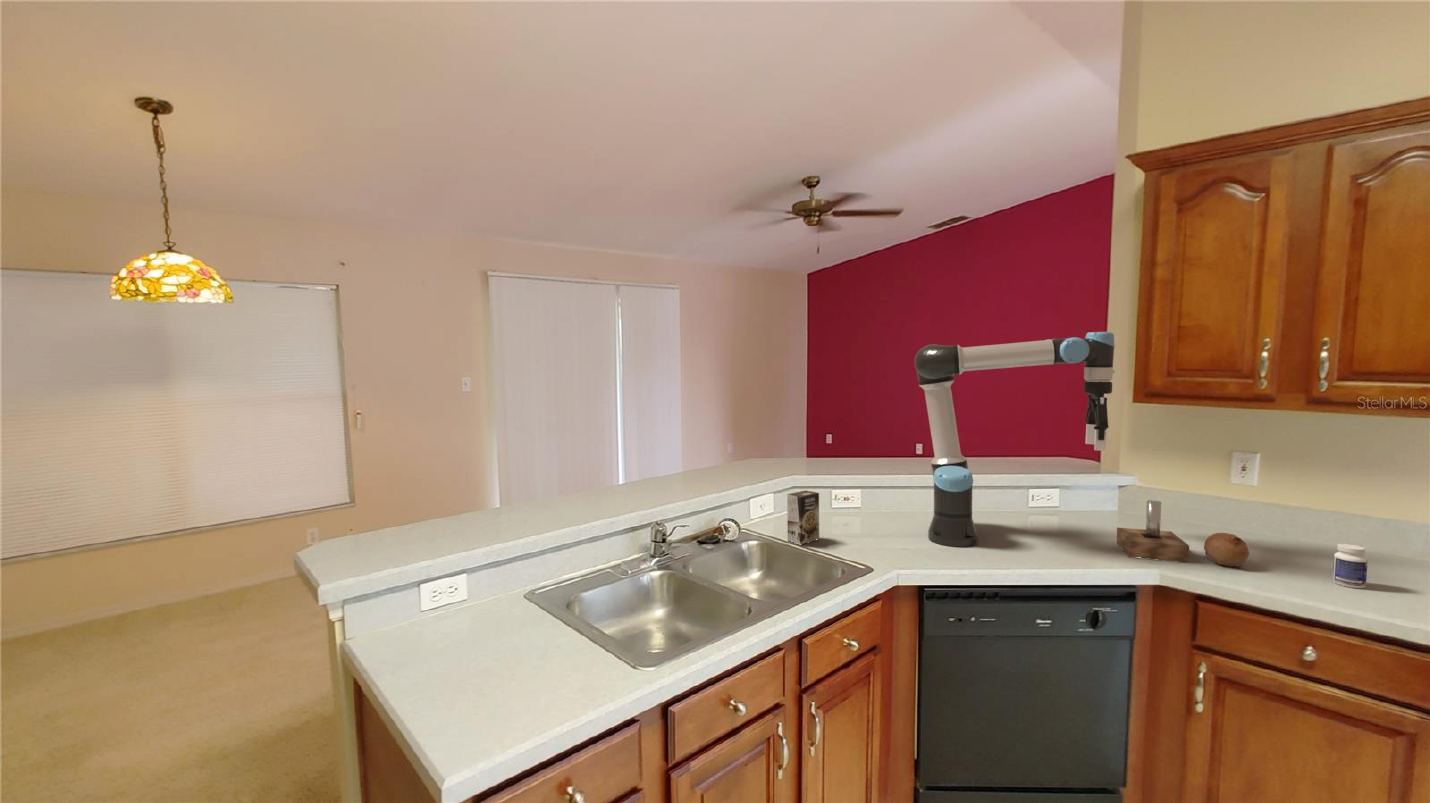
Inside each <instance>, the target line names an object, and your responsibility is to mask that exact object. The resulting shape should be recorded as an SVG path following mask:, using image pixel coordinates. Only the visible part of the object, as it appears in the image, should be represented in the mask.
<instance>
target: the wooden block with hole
mask: <svg viewBox="0 0 1430 803" xmlns="http://www.w3.org/2000/svg"><path fill="white" fill-rule="evenodd" d="M1116 544H1117V545H1118V546H1119V547H1120V548H1122V549H1123V550H1124V551H1123V550H1122V551H1123V552H1124V553H1125V554H1126V556H1128V558H1130V557H1141V558H1150V559H1149V560H1151V559H1158V560H1157V561H1162V560H1166V561H1165V562H1173V561H1178V562H1177V563H1184V562H1187V564H1188V563H1189V561H1190V560H1189V559H1190V544H1188V543H1187V542H1186V541H1184V540H1183V539H1182V538H1180V537H1179V536H1177V534H1176V533H1174V532H1173V531H1170V530H1167V531H1166V530H1160V539H1156V538H1146V529H1143V528H1142V529H1141V528H1131V527H1129V528H1127V527H1116Z"/></svg>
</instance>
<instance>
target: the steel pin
mask: <svg viewBox="0 0 1430 803" xmlns="http://www.w3.org/2000/svg"><path fill="white" fill-rule="evenodd" d="M1145 515H1146V516H1145V517H1146V518H1145V530H1146V538H1156V539H1160V531H1161V521H1162V520H1161V517H1162V502H1161V501H1160V500H1159V501H1158V500H1153V499H1151V500H1149V499H1148V500H1146V514H1145Z"/></svg>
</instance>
